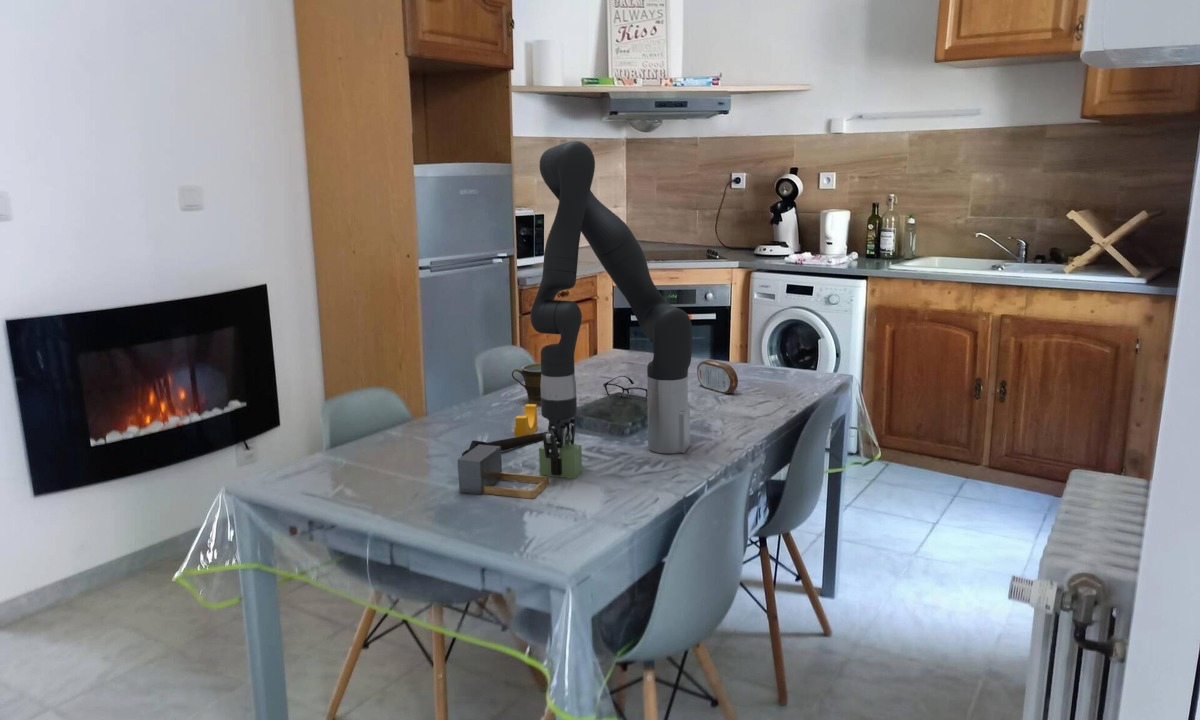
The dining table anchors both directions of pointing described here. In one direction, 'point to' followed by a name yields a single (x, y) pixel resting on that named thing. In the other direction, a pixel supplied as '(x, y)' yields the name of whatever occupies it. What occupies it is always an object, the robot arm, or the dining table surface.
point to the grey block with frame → (492, 474)
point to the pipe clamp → (526, 421)
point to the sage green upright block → (563, 461)
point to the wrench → (509, 442)
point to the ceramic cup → (531, 381)
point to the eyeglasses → (622, 387)
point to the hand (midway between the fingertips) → (560, 470)
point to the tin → (717, 376)
